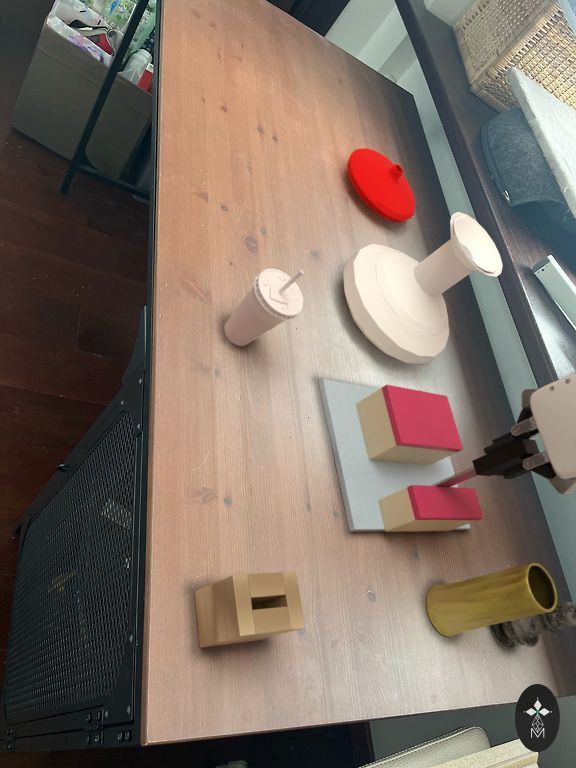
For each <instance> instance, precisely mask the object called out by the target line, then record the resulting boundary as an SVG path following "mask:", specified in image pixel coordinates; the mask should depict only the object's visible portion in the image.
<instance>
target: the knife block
mask: <svg viewBox="0 0 576 768" xmlns="http://www.w3.org/2000/svg"><path fill="white" fill-rule="evenodd" d="M300 593H301V592H300V586H299V579H298V576H297V571H281V572H266V573H264V572H263V573H249V574H246V573H245V574H233V575H231V576H227V577H226V578H223V579H220V580H218V581H216V582H214V583H211V584H208V585H207V586H204V587H202V588H199V589H197V590H195V591H194V602H195V611H196V624H197V633H198V644H199V648H200V649H203V648H210V647H217V646H218V647H219V646H224V645H231V644H240V643H247V642H254V641H261V640H266V639H270V638H272V637H273V638H274V637H277V636H280V635H284V634H285V635H286V634H288V633H291V632H296V631H300V630H303V629H306V623H305V617H304V611H303V604H302V599H301V594H300Z"/></svg>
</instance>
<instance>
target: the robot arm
mask: <svg viewBox="0 0 576 768" xmlns="http://www.w3.org/2000/svg"><path fill="white" fill-rule="evenodd" d="M538 435H539V436H540V438H541V441H542V443H543V447H544V449H545V450H544V451H540V453H539V454H536V455H534V456H531V457H525V458H521V457H517V458H514V459H512V460H509V461H507V462H505V463H502V464H500V465H498V466H496V467H493V468H491V474H492V476H496V477H497V476H498V477H503V478H504V480H513V479H516V478H518V477H520V476H523V475H525V474H528V473H530V472H533V473H534V474H537V475H539V476H541V477H542V478H544V479H547V481H548V482H549V484H550V485H551V486H552V487H553V488H554V489H555V491H556V492H557V493H558V494H560V495H566V496H568V495H571V494H573V492H574V491H575V490H576V372H575V373H572V374H569V375H566V376H564V377H561V378H559V379H557V380H555V381H552V382H550V383H548V384H546V385H544V386H542V387H539V388H525V389H523V390H522V392H521V411H520V412H519V415H518V418H517V420H516V423H515V424H514V425H513V426H512V427H511V428H510V431H509V432H507V433H504V434H503V435H501V436H498V437H496V438H494V439H492V441H491V442H492V444H490V445H488V446H486V447H484V448H483V452H484V454H485V455H486V454H489V453H491V452H493V451H495V450H498V449H500V448H502V447H504V446H507V445H509V444H511V443H513V442H515V441H517V440H519V439H522V438H524V439H531V438H534V437H535V436H538Z"/></svg>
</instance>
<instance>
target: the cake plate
mask: <svg viewBox="0 0 576 768" xmlns="http://www.w3.org/2000/svg"><path fill="white" fill-rule="evenodd" d="M318 386H319V391H320V396H321V400H322V406H323V411H324V414H325V415H324V416H325V420H326V425H327V430H328V434H329V440H330V444H331V448H332V454H333V459H334V463H335V469H336V473H337V476H338V483H339V487H340V490H341V491H340V492H341V496H342V501H343V506H344V511H345V516H346V520H347V526H348V530H349V532H350V533H351V532H353V533H355V532H359V533H360V532H386V531H385V527H384V523H383V519H382V514H381V510H380V506H379V501H378V500H379V499H382V498H384V497H386V496H388V495H391V494H393V493H395V492H398V491H400V490H402V489H404V488H407V487H409V486H411V485H424V486H430V485H433V484H435V483H437V482H439V481H442V480H444V479H446V478H448V477H451V476H453V475H455V474H456V472H455V470H454V467H453V464H452V459H451V455H450V456H448V457H446V458H444V459H442V460H440V461H437V462H435V463H433V464H431V465H426V464H414V463H403V462H391V461H379V460H369V458H368V453H367V449H366V445H365V440H364V436H363V432H362V428H361V423H360V419H359V415H358V410H357V406H356V403H358V402H360V401H361V400H363V399H364V398H366V397H368V396H369V395H371V394H372V393H374V392H376V391H377V390H379V389H380V388H377V387H370V386H366V385H359V384H355V383H354V384H353V383H349V382H344V381H339V380H332V379H328V378H327V379H326V378H322V379H320V380H319V381H318ZM451 487H459V483H458V484H456V485H454V486H451ZM470 524H471V523H469V524H466V525H464V526H461V527H458V528H455V529H452V530H449V531H448V532H450V531H468V530H470V529H471V525H470Z"/></svg>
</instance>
